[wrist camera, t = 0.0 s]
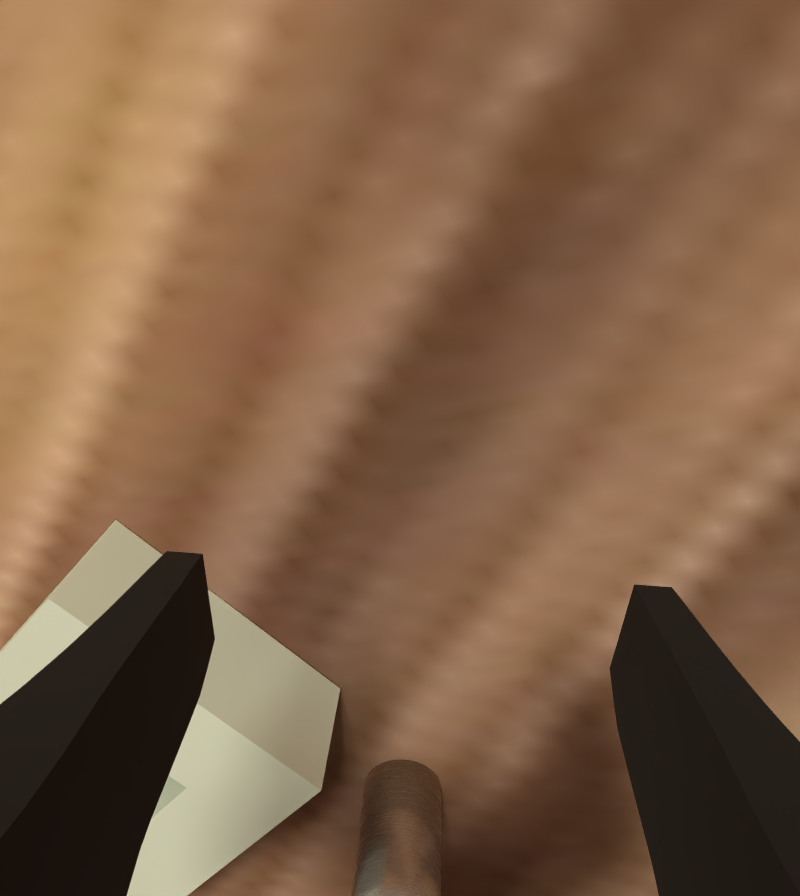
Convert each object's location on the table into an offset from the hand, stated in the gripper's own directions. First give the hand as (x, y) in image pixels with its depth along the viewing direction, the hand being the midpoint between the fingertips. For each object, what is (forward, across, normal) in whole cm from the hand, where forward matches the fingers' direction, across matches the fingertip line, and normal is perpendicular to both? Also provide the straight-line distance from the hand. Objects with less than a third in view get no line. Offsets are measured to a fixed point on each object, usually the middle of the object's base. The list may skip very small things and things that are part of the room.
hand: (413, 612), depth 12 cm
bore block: (+8, +10, +14) cm, 19 cm away
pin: (+8, 0, +18) cm, 19 cm away
